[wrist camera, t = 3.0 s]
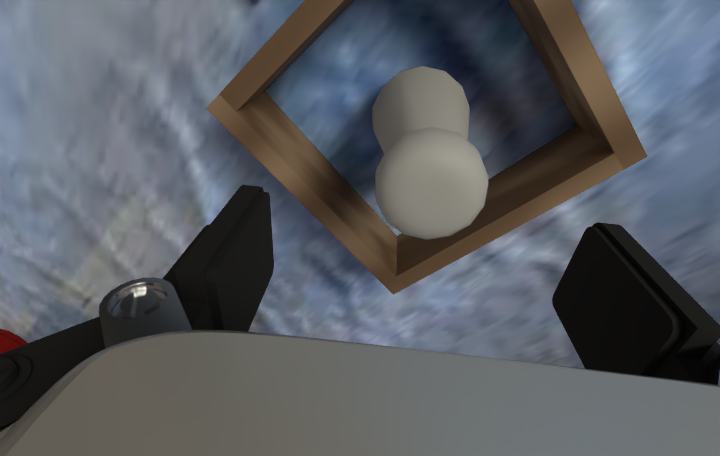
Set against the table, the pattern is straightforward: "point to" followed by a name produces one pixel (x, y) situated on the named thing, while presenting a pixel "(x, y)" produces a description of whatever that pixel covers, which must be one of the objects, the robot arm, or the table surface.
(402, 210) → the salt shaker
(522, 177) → the frame
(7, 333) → the plastic cup
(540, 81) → the table surface
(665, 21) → the table surface
